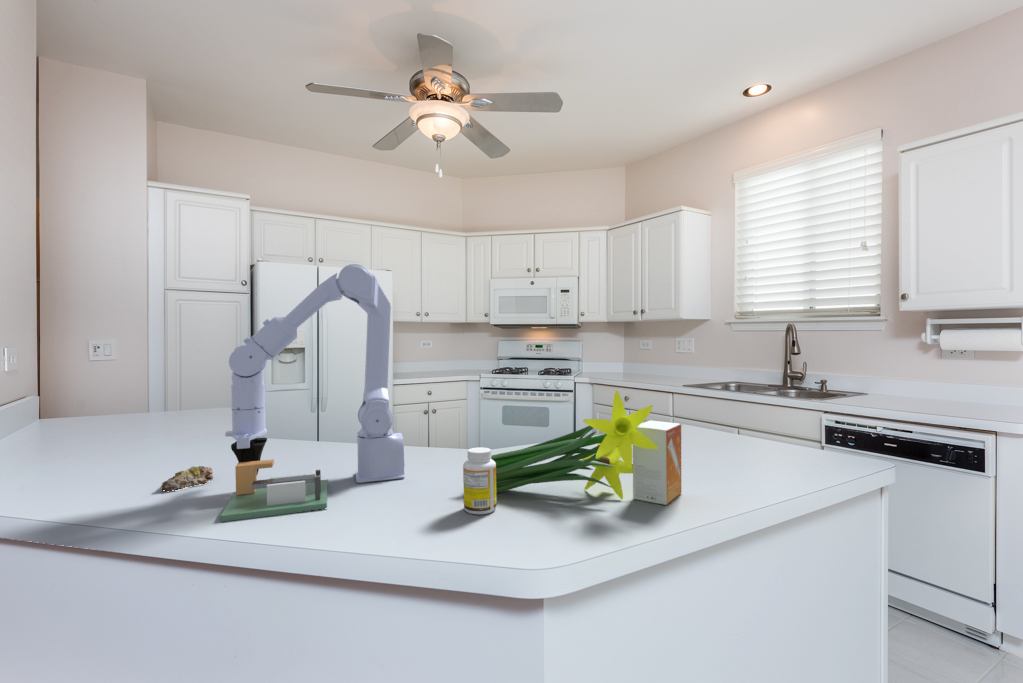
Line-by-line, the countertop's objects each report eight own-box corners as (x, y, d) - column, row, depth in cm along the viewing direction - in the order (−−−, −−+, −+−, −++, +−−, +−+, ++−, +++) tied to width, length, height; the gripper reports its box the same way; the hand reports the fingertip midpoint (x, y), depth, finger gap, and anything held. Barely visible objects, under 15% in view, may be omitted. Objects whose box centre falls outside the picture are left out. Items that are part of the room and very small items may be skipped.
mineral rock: (188, 466, 107) (219, 457, 105) (194, 485, 107) (225, 477, 105) (142, 483, 96) (176, 473, 95) (149, 504, 96) (182, 495, 95)
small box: (667, 506, 85) (666, 430, 85) (632, 499, 89) (631, 426, 88) (682, 493, 91) (682, 422, 91) (649, 487, 95) (648, 419, 95)
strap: (320, 477, 91) (320, 473, 91) (319, 482, 88) (319, 477, 88) (254, 484, 87) (253, 480, 87) (251, 490, 84) (251, 485, 84)
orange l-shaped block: (274, 486, 95) (273, 459, 95) (272, 491, 92) (272, 463, 92) (239, 490, 93) (238, 462, 93) (236, 495, 90) (235, 466, 90)
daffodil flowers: (494, 479, 105) (659, 439, 98) (490, 539, 92) (680, 498, 85) (463, 421, 96) (641, 373, 90) (454, 479, 84) (661, 428, 77)
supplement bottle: (482, 502, 88) (481, 444, 88) (503, 509, 84) (502, 449, 84) (457, 509, 84) (456, 449, 84) (477, 518, 80) (477, 455, 80)
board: (327, 484, 99) (327, 459, 99) (326, 509, 85) (326, 480, 85) (237, 494, 94) (237, 467, 94) (220, 522, 80) (219, 491, 80)
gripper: (232, 404, 101) (234, 470, 101) (216, 414, 88) (218, 491, 88) (271, 402, 104) (272, 467, 104) (261, 412, 90) (262, 487, 90)
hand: (250, 478), depth 96 cm, fingers closed
